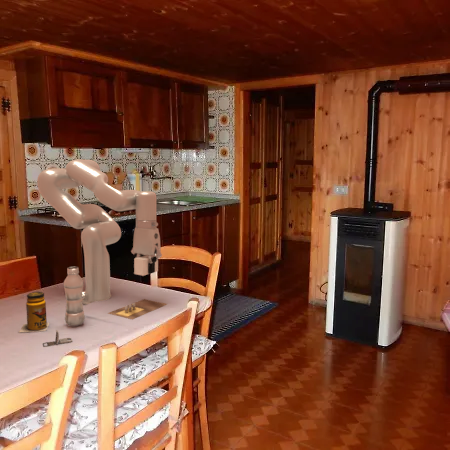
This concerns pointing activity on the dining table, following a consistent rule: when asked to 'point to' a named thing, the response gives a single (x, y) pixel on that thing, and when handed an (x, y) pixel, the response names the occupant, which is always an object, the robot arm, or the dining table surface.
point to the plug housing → (143, 265)
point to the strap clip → (61, 341)
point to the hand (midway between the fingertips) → (146, 271)
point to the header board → (137, 309)
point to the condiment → (35, 313)
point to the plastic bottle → (74, 297)
